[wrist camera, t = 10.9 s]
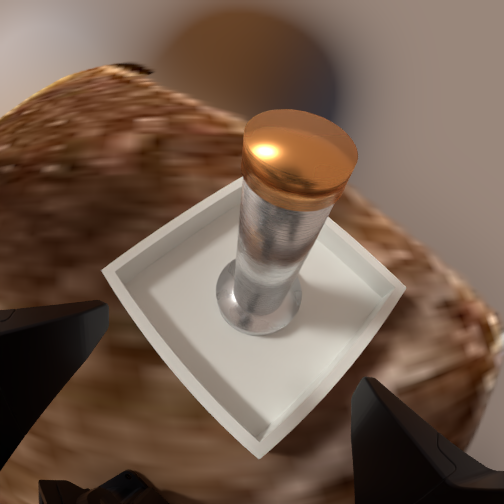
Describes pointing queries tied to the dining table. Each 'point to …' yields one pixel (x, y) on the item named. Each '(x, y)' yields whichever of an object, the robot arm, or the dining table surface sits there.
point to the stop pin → (281, 214)
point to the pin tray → (242, 345)
